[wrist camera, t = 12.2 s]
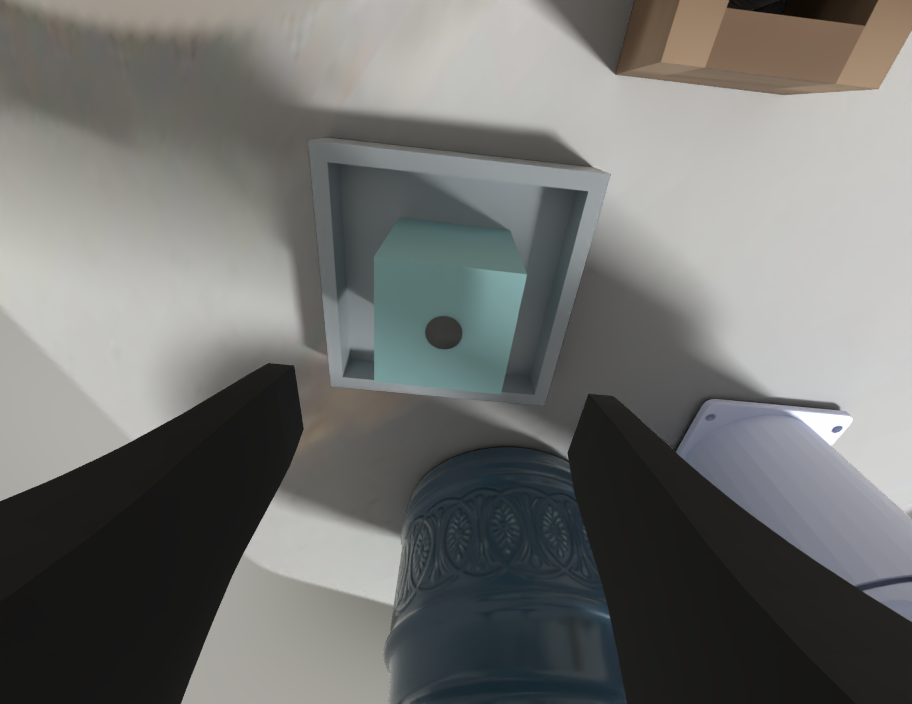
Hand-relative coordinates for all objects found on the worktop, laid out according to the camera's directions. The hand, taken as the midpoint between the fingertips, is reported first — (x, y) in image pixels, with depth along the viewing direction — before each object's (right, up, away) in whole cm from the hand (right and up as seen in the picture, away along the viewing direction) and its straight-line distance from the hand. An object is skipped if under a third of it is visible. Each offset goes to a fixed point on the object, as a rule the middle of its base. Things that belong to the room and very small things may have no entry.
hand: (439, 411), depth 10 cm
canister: (+4, -9, +16) cm, 19 cm away
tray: (0, +5, +8) cm, 9 cm away
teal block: (0, +5, +7) cm, 9 cm away
